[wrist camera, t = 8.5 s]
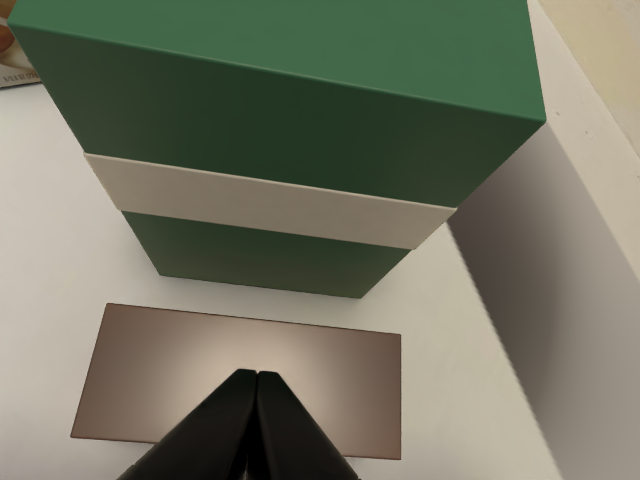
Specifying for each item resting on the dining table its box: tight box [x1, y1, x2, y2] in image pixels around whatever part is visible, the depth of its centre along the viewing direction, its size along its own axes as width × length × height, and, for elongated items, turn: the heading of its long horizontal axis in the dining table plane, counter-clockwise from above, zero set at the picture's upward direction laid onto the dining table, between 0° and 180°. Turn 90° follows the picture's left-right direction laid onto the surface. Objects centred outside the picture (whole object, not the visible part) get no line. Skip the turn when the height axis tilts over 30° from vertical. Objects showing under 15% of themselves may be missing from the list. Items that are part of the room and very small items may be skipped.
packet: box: [7, 0, 546, 298], centre depth 14 cm, size 4×9×13 cm, turn 86°
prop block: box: [70, 303, 401, 460], centre depth 15 cm, size 4×10×4 cm, turn 86°
